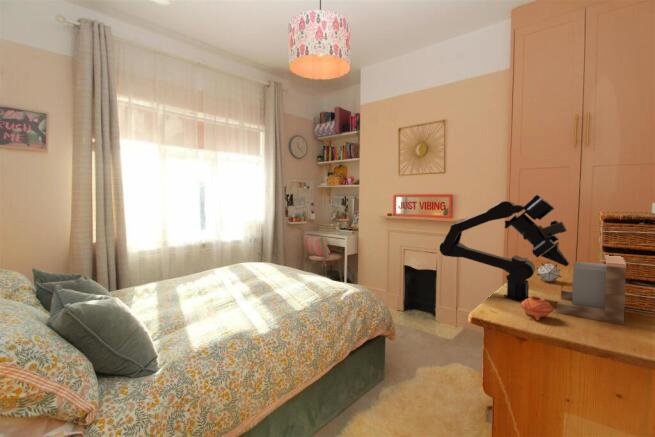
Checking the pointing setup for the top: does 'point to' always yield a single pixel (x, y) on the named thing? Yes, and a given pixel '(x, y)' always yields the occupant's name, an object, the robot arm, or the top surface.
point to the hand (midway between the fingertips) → (567, 264)
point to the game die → (548, 272)
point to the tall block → (589, 285)
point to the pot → (536, 307)
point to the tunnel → (612, 295)
